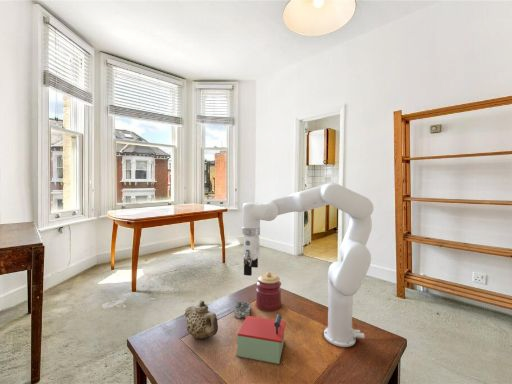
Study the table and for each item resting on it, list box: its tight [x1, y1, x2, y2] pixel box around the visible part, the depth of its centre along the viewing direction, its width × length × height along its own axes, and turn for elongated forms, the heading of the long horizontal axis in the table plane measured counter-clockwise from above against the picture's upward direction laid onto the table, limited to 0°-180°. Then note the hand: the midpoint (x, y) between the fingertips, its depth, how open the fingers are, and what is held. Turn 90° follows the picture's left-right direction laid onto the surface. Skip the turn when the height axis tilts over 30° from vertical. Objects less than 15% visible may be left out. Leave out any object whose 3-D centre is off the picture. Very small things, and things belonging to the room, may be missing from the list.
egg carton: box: [234, 300, 251, 319], centre depth 121 cm, size 11×8×4 cm
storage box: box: [237, 334, 285, 365], centre depth 95 cm, size 16×13×8 cm
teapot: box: [184, 299, 219, 340], centre depth 102 cm, size 21×12×15 cm, turn 47°
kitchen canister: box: [255, 271, 282, 312], centre depth 128 cm, size 13×13×18 cm
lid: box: [237, 313, 287, 343], centre depth 94 cm, size 16×13×5 cm
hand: (251, 271), depth 105 cm, fingers open, 9 cm apart
